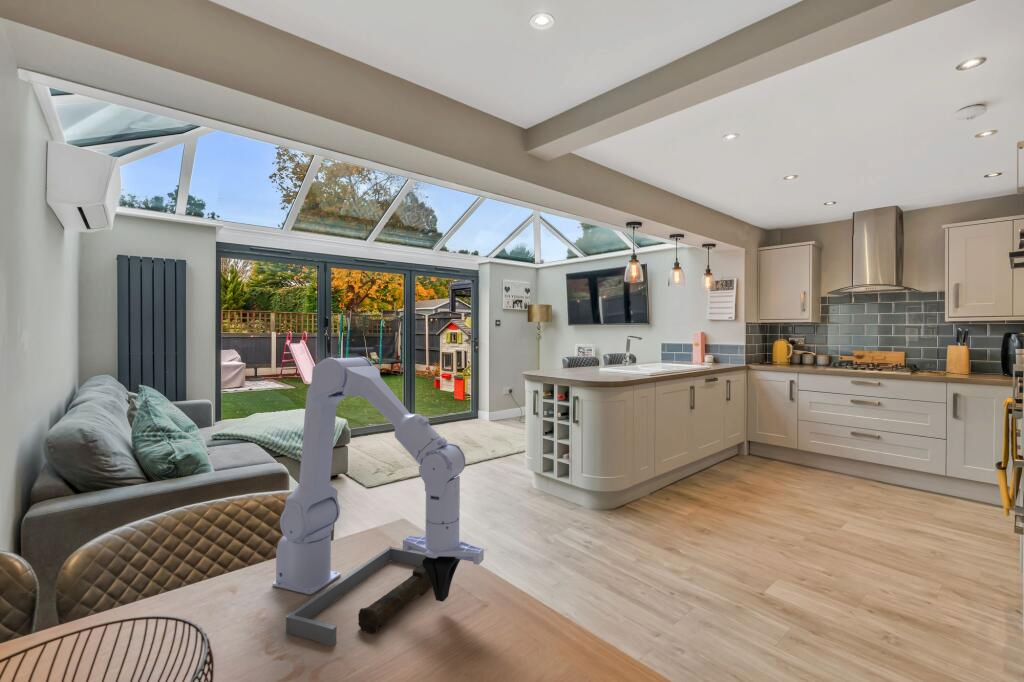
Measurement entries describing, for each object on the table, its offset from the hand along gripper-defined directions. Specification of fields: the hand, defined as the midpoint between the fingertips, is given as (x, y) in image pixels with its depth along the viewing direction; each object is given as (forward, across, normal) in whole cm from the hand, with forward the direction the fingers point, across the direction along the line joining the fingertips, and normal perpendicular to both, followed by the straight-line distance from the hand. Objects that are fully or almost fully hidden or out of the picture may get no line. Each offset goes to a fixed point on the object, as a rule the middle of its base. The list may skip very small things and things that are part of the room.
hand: (442, 598), depth 80 cm
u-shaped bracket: (+2, -15, 0) cm, 16 cm away
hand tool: (+3, -8, 0) cm, 9 cm away
